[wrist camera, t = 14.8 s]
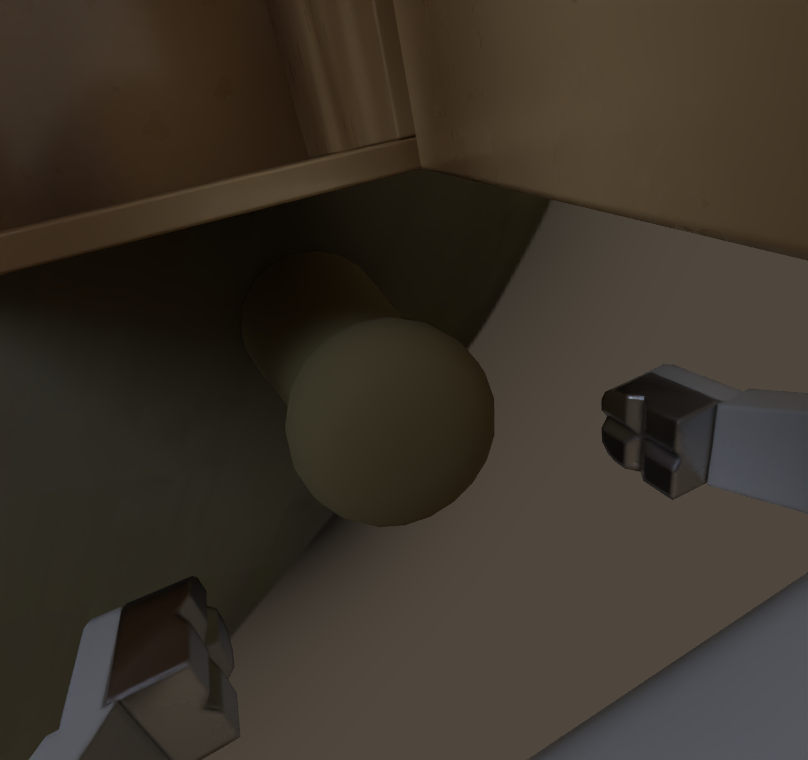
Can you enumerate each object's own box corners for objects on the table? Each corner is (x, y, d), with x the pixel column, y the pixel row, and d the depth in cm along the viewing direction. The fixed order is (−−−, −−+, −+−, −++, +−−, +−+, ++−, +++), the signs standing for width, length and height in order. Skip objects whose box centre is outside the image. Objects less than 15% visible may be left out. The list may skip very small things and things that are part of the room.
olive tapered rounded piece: (264, 227, 18) (334, 282, 8) (403, 278, 20) (575, 362, 11) (222, 374, 19) (241, 565, 10) (358, 402, 22) (475, 572, 12)
